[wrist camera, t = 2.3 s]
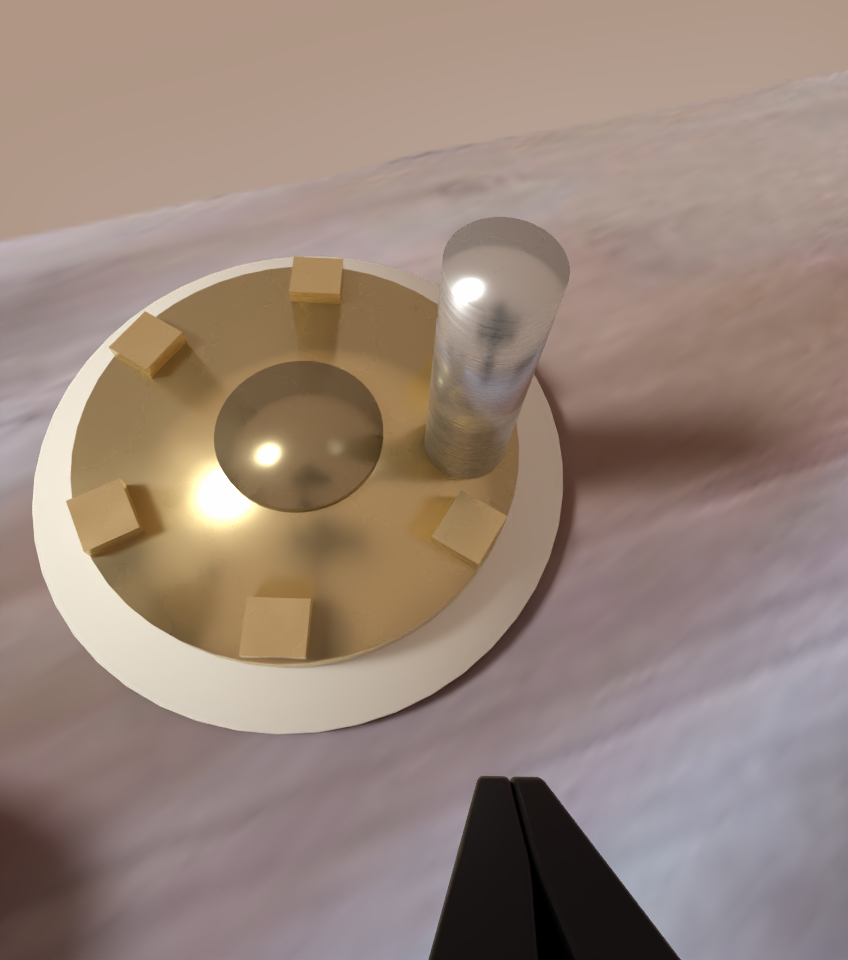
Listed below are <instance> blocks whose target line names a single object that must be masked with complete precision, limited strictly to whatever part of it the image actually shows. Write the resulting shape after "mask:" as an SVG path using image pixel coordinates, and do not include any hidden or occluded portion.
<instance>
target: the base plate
mask: <svg viewBox="0 0 848 960" xmlns="http://www.w3.org/2000/svg"><path fill="white" fill-rule="evenodd" d="M298 257H312V258H333V259H343V264H344V269H348V270H353V271H357V272H362V273H367V274H371V275H374V276H378V277H381V278H384V279H387V280H390V281H393V282H395V283H398V284H400V285H402V286H405V287H407V288H409V289H411V290H414V291H416V292H417V293H419V294H421V295H423V296H424V297H426V298H428V299H429V300H431V301H433V302H435V303H436V304H438V301H439V291H440V286H439V285H437V284H434V283H432V282H430V281H428V280H425V279H423V278H421V277H418V276H416V275H414V274H411V273H408V272H405V271H402V270H399V269H396V268H392V267H389V266H386V265H382V264H377V263H372V262H367V261H362V260H357V259H348V258H338V257H328V256H298ZM293 258H294V257H288V258H278V259H269V260H264V261H259V262H254V263H249V264H244V265H239V266H236V267H233V268H229V269H226V270H223V271H220V272H216V273H213V274H210V275H208V276H205V277H203V278H201V279H198V280H196V281H194V282H191V283H189V284H186V285H184V286H182V287H180V288H178V289H177V290H175V291H173V292H171V293H169V294H167V295H166V296H164V297H162V298H160V299H158V300H156V301H155V302H154V303H152V304H151V305H149V306H148V307H146V308H145V309H143V310H142V311H141V312H139V313H138V314H136V315H135V316H133V317H132V318H131V319H129V320H128V321H127V322H126V323H125V324H124V325H123V326H121V327H120V328H119V329H118V330H117V331H116V332H115V333H113V334H112V335H111V336H110V337H109V338H108V339H107V340H106V341H105V342H104V343H103V344H102V345H101V346H100V347H99V348H98V350H97V351H96V352H95V353H94V354H93V355H92V356H91V357H90V358H89V359H88V360H87V362H86V363H85V364H84V366H83V367H82V369H81V370H80V371H79V373H78V374H77V376H76V377H75V378H74V380H73V381H72V383H71V384H70V385H69V387H68V389H67V390H66V392H65V394H64V396H63V398H62V400H61V401H60V403H59V405H58V407H57V409H56V411H55V412H54V414H53V417H52V419H51V422H50V425H49V427H48V430H47V433H46V435H45V438H44V440H43V443H42V446H41V451H40V455H39V459H38V464H37V468H36V473H35V479H34V492H33V504H32V512H33V526H34V539H35V545H36V549H37V553H38V557H39V562H40V566H41V570H42V574H43V576H44V579H45V581H46V584H47V586H48V589H49V591H50V593H51V596H52V598H53V601H54V603H55V605H56V607H57V609H58V610H59V612H60V613H61V615H62V617H63V618H64V620H65V622H66V623H67V625H68V626H69V628H70V630H71V631H72V633H73V634H74V636H75V637H76V638H77V639H78V640H79V641H80V643H81V644H82V645H83V646H84V647H85V648H86V650H87V651H88V652H89V653H90V654H91V655H92V656H93V658H94V659H95V660H96V661H97V662H98V663H99V664H100V665H101V666H103V667H104V668H105V669H106V670H107V671H109V672H110V673H111V674H112V675H113V676H115V677H116V678H117V679H118V680H119V681H121V682H122V683H123V684H124V685H126V686H127V687H129V688H130V689H132V690H134V691H135V692H137V693H139V694H140V695H142V696H144V697H145V698H147V699H149V700H150V701H152V702H154V703H155V704H157V705H159V706H161V707H163V708H166V709H168V710H171V711H173V712H176V713H178V714H181V715H183V716H186V717H188V718H191V719H193V720H196V721H199V722H204V723H208V724H212V725H216V726H220V727H224V728H229V729H233V730H238V731H247V732H258V733H268V734H300V733H319V732H325V731H330V730H335V729H341V728H346V727H351V726H357V725H360V724H363V723H366V722H369V721H372V720H375V719H378V718H381V717H384V716H387V715H390V714H393V713H396V712H398V711H400V710H402V709H404V708H406V707H408V706H410V705H412V704H415V703H417V702H419V701H421V700H423V699H425V698H427V697H429V696H431V695H432V694H434V693H435V692H437V691H438V690H440V689H441V688H443V687H444V686H446V685H447V684H449V683H450V682H452V681H453V680H455V679H456V678H458V677H459V676H461V675H462V674H463V673H464V672H466V671H467V670H468V669H469V668H470V667H471V666H472V665H473V664H475V663H476V662H477V661H478V660H479V659H480V658H481V657H482V656H483V655H485V654H486V653H487V652H488V651H489V650H490V649H491V648H492V647H493V646H494V645H495V644H496V642H497V641H498V640H499V639H500V638H501V636H502V635H503V634H504V633H505V632H506V631H507V629H508V628H509V627H510V626H511V625H512V623H513V622H514V621H515V620H516V619H517V617H518V616H519V614H520V613H521V611H522V609H523V608H524V606H525V605H526V603H527V601H528V600H529V598H530V597H531V595H532V594H533V592H534V590H535V589H536V587H537V584H538V582H539V580H540V578H541V576H542V573H543V571H544V569H545V567H546V564H547V562H548V560H549V558H550V554H551V551H552V547H553V544H554V540H555V537H556V533H557V530H558V526H559V520H560V512H561V505H562V498H563V463H562V456H561V450H560V443H559V437H558V432H557V429H556V426H555V422H554V419H553V416H552V412H551V409H550V406H549V404H548V402H547V399H546V397H545V395H544V393H543V391H542V388H541V386H540V384H539V382H538V380H537V378H536V377H535V375H534V376H533V378H532V381H531V384H530V386H529V389H528V392H527V394H526V397H525V400H524V403H523V405H522V408H521V411H520V413H519V416H518V419H517V421H516V423H517V431H518V439H519V470H518V476H517V482H516V488H515V493H514V498H513V501H512V504H511V507H510V510H509V513H508V516H507V519H506V522H505V524H504V526H503V528H502V530H501V532H500V534H499V536H498V538H497V541H496V543H495V545H494V547H493V549H492V551H491V553H490V555H489V557H488V558H487V560H486V561H485V563H484V564H483V566H482V567H481V569H480V570H479V572H478V573H477V575H476V576H475V578H474V579H473V580H472V582H471V583H470V584H469V585H468V586H467V587H466V588H465V589H464V590H463V592H462V593H461V594H460V595H459V596H458V597H457V598H456V599H455V600H454V602H453V603H451V604H450V605H449V606H448V607H447V608H445V609H444V610H443V611H442V612H441V613H439V614H438V615H437V616H436V617H435V618H434V619H432V620H431V621H430V622H428V623H427V624H425V625H424V626H422V627H421V628H419V629H417V630H416V631H414V632H413V633H411V634H410V635H408V636H407V637H405V638H403V639H401V640H399V641H397V642H395V643H392V644H390V645H388V646H386V647H384V648H382V649H380V650H377V651H375V652H372V653H369V654H366V655H362V656H359V657H356V658H353V659H350V660H347V661H342V662H336V663H331V664H325V665H319V666H314V667H290V668H277V667H267V666H256V665H248V664H244V663H240V662H235V661H231V660H227V659H223V658H219V657H216V656H214V655H211V654H208V653H206V652H203V651H201V650H198V649H196V648H193V647H191V646H189V645H187V644H185V643H183V642H181V641H180V640H178V639H176V638H174V637H173V636H171V635H169V634H167V633H166V632H164V631H162V630H160V629H159V628H157V627H155V626H153V625H152V624H150V623H149V622H148V621H147V620H145V619H144V618H143V617H142V616H140V615H139V614H138V613H137V612H135V611H134V610H133V609H132V608H130V607H129V606H128V605H127V604H126V603H125V602H124V601H123V600H122V599H121V598H120V597H119V595H118V594H117V593H116V592H115V591H114V590H113V589H112V588H111V587H110V586H109V585H108V583H107V582H106V580H105V579H104V577H103V576H102V574H101V573H100V571H99V570H98V568H97V567H96V565H95V564H94V562H93V561H92V559H91V557H90V556H89V555H87V554H86V553H84V551H83V548H82V545H81V543H80V540H79V537H78V534H77V531H76V528H75V526H74V523H73V520H72V517H71V514H70V511H69V508H68V506H67V503H66V501H67V500H69V499H72V491H71V481H70V477H71V459H72V450H73V445H74V440H75V435H76V431H77V426H78V424H79V421H80V418H81V415H82V412H83V410H84V407H85V404H86V402H87V400H88V398H89V396H90V394H91V392H92V390H93V388H94V386H95V384H96V383H97V381H98V379H99V377H100V376H101V374H102V373H103V372H104V370H105V369H106V367H107V366H108V364H109V363H110V362H111V360H112V359H113V357H114V355H113V353H112V352H111V350H110V349H109V346H110V345H111V344H112V343H113V342H114V341H115V340H116V339H117V338H118V337H119V336H120V335H121V334H122V333H123V332H124V331H126V330H127V329H128V328H129V327H130V326H131V325H132V324H133V323H134V322H135V321H136V320H137V319H138V318H139V317H140V316H141V315H142V314H143V313H144V312H145V311H146V312H147V313H149V314H151V315H153V316H155V317H156V316H157V315H159V314H160V313H162V312H163V311H165V310H166V309H167V308H169V307H170V306H172V305H173V304H175V303H177V302H179V301H180V300H182V299H184V298H186V297H188V296H189V295H191V294H193V293H195V292H197V291H199V290H202V289H204V288H206V287H209V286H211V285H214V284H216V283H218V282H221V281H224V280H227V279H231V278H234V277H237V276H240V275H244V274H248V273H253V272H258V271H263V270H268V269H276V268H286V267H292V266H293Z"/></svg>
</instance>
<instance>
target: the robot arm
mask: <svg viewBox="0 0 848 960" xmlns="http://www.w3.org/2000/svg"><path fill="white" fill-rule="evenodd" d="M429 960H681V959H680V958H679V957H678V956H677V954H676V953H675V952H674V950H673V949H672V948H671V946H670V945H669V944H668V942H667V941H666V940H665V938H664V937H663V936H662V935H661V933H660V932H659V931H658V929H657V928H656V927H655V925H654V924H653V923H652V921H651V920H650V919H649V918H648V916H647V915H646V914H645V912H644V911H643V910H642V908H641V907H640V906H639V904H638V903H637V902H636V901H635V899H634V898H633V897H632V895H631V894H630V893H629V891H628V890H627V889H626V887H625V886H624V885H623V884H622V882H621V881H620V880H619V878H618V877H617V876H616V874H615V873H614V872H613V870H612V869H611V868H610V867H609V865H608V864H607V863H606V861H605V860H604V859H603V857H602V856H601V855H600V853H599V852H598V851H597V850H596V848H595V847H594V846H593V844H592V843H591V842H590V840H589V839H588V838H587V836H586V835H585V834H584V833H583V831H582V830H581V829H580V827H579V826H578V825H577V823H576V822H575V821H574V819H573V818H572V817H571V816H570V814H569V813H568V812H567V810H566V809H565V808H564V806H563V805H562V804H561V802H560V801H559V800H558V799H557V797H556V796H555V795H554V793H553V792H552V791H551V789H550V788H549V787H548V785H547V784H546V783H545V782H544V781H543V780H542V779H541V778H538V777H513V778H512V779H511V780H510V781H509V779H508V778H507V777H504V776H481V777H479V779H478V780H477V783H476V787H475V791H474V794H473V798H472V802H471V805H470V809H469V813H468V816H467V820H466V824H465V827H464V831H463V835H462V838H461V842H460V846H459V850H458V853H457V857H456V861H455V864H454V868H453V872H452V875H451V879H450V883H449V886H448V890H447V894H446V897H445V901H444V905H443V908H442V912H441V916H440V919H439V923H438V927H437V931H436V934H435V938H434V942H433V945H432V949H431V953H430V956H429Z"/></svg>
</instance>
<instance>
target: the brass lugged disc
mask: <svg viewBox="0 0 848 960" xmlns="http://www.w3.org/2000/svg"><path fill="white" fill-rule="evenodd" d="M569 275H570V267H569V262H568V259H567V256H566V253H565V252H564V250H563V248H562V247H561V245H560V244H559V243H558V241H557V240H556V239H555V238H554V237H553V236H551V235H550V234H549V233H548V232H546V231H545V230H543V229H542V228H540V227H538V226H536V225H534V224H532V223H529V222H527V221H523V220H520V219H515V218H507V217H492V218H485V219H481V220H477V221H474V222H472V223H470V224H467V225H466V226H464V227H462V228H461V229H460V230H458V231H457V232H456V233H455V234H454V235H453V236H452V237H451V238H450V240H449V241H448V243H447V245H446V247H445V250H444V254H443V261H442V271H441V281H440V291H439V301H438V304H436V303H435V302H433V301H431V300H429V299H428V298H426V297H424V296H423V295H421V294H419V293H417V292H416V291H414V290H411V289H409V288H407V287H405V286H402V285H400V284H398V283H395V282H393V281H390V280H387V279H384V278H381V277H378V276H374V275H371V274H367V273H362V272H357V271H353V270H348V269H344V264H343V259H333V258H312V257H294V258H293V266H292V267H286V268H276V269H268V270H263V271H258V272H253V273H248V274H244V275H240V276H237V277H234V278H231V279H227V280H224V281H221V282H218V283H216V284H214V285H211V286H209V287H206V288H204V289H202V290H199V291H197V292H195V293H193V294H191V295H189V296H188V297H186V298H184V299H182V300H180V301H179V302H177V303H175V304H173V305H172V306H170V307H169V308H167V309H166V310H165V311H163V312H162V313H160V314H159V315H157V316H156V317H155V316H153V315H151V314H149V313H147V312H146V311H145V312H144V313H143V314H142V315H141V316H140V317H139V318H138V319H137V320H136V321H135V322H134V323H133V324H132V325H131V326H130V327H129V328H128V329H127V330H126V331H124V332H123V333H122V334H121V335H120V336H119V337H118V338H117V339H116V340H115V341H114V342H113V343H112V344H111V345H110V346H109V349H110V350H111V352H112V353H113V355H114V357H113V359H112V360H111V362H110V363H109V364H108V366H107V367H106V369H105V370H104V372H103V373H102V374H101V376H100V377H99V379H98V381H97V383H96V384H95V386H94V388H93V390H92V392H91V394H90V396H89V398H88V400H87V402H86V404H85V407H84V410H83V412H82V415H81V418H80V421H79V424H78V426H77V431H76V435H75V440H74V445H73V450H72V459H71V477H70V481H71V491H72V499H69V500H67V501H66V503H67V506H68V508H69V511H70V514H71V517H72V520H73V523H74V526H75V528H76V531H77V534H78V537H79V540H80V543H81V545H82V548H83V551H84V553H86V554H87V555H89V556H90V557H91V559H92V561H93V562H94V564H95V565H96V567H97V568H98V570H99V571H100V573H101V574H102V576H103V577H104V579H105V580H106V582H107V583H108V585H109V586H110V587H111V588H112V589H113V590H114V591H115V592H116V593H117V594H118V595H119V597H120V598H121V599H122V600H123V601H124V602H125V603H126V604H127V605H128V606H129V607H130V608H132V609H133V610H134V611H135V612H137V613H138V614H139V615H140V616H142V617H143V618H144V619H145V620H147V621H148V622H149V623H150V624H152V625H153V626H155V627H157V628H159V629H160V630H162V631H164V632H166V633H167V634H169V635H171V636H173V637H174V638H176V639H178V640H180V641H181V642H183V643H185V644H187V645H189V646H191V647H193V648H196V649H198V650H201V651H203V652H206V653H208V654H211V655H214V656H216V657H219V658H223V659H227V660H231V661H235V662H240V663H244V664H248V665H256V666H267V667H277V668H290V667H314V666H319V665H325V664H331V663H336V662H342V661H347V660H350V659H353V658H356V657H359V656H362V655H366V654H369V653H372V652H375V651H377V650H380V649H382V648H384V647H386V646H388V645H390V644H392V643H395V642H397V641H399V640H401V639H403V638H405V637H407V636H408V635H410V634H411V633H413V632H414V631H416V630H417V629H419V628H421V627H422V626H424V625H425V624H427V623H428V622H430V621H431V620H432V619H434V618H435V617H436V616H437V615H438V614H439V613H441V612H442V611H443V610H444V609H445V608H447V607H448V606H449V605H450V604H451V603H453V602H454V600H455V599H456V598H457V597H458V596H459V595H460V594H461V593H462V592H463V590H464V589H465V588H466V587H467V586H468V585H469V584H470V583H471V582H472V580H473V579H474V578H475V576H476V575H477V573H478V572H479V570H480V569H481V567H482V566H483V564H484V563H485V561H486V560H487V558H488V557H489V555H490V553H491V551H492V549H493V547H494V545H495V543H496V541H497V538H498V536H499V534H500V532H501V530H502V528H503V526H504V524H505V522H506V519H507V516H508V513H509V510H510V507H511V504H512V501H513V498H514V493H515V488H516V482H517V476H518V470H519V439H518V431H517V423H516V421H517V419H518V416H519V413H520V411H521V408H522V405H523V403H524V400H525V397H526V394H527V392H528V389H529V386H530V384H531V381H532V378H533V376H534V373H535V370H536V367H537V365H538V362H539V359H540V357H541V354H542V351H543V349H544V346H545V343H546V340H547V338H548V335H549V332H550V330H551V327H552V324H553V322H554V319H555V316H556V313H557V311H558V308H559V305H560V303H561V300H562V297H563V295H564V292H565V289H566V286H567V284H568V281H569Z"/></svg>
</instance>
